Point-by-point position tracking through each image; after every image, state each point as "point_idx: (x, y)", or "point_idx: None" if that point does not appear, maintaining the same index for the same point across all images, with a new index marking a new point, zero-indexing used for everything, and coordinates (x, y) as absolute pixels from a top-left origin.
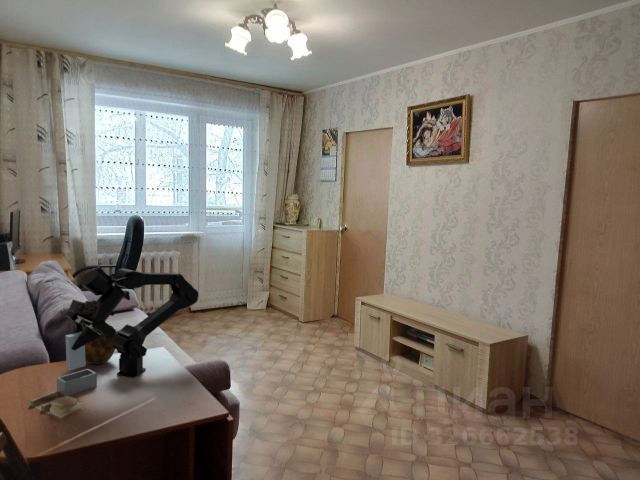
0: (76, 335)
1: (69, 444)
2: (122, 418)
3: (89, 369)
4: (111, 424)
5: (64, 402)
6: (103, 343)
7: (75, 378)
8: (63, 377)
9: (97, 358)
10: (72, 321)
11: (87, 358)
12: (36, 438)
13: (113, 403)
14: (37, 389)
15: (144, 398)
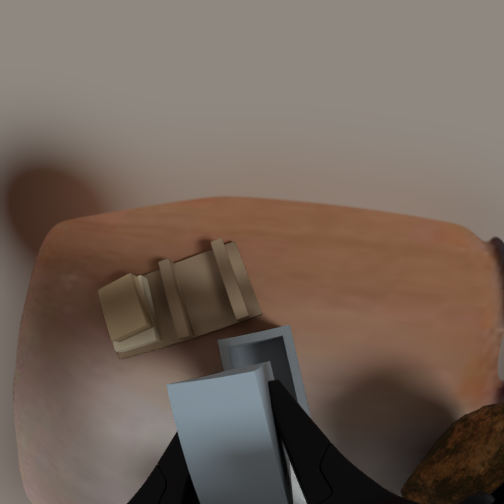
0: (188, 466)
1: (38, 281)
2: (55, 398)
3: None
4: (47, 369)
5: (112, 304)
6: None
7: (295, 393)
8: (286, 350)
9: (409, 478)
10: (472, 501)
11: (434, 446)
12: (83, 238)
13: (121, 428)
14: (348, 283)
15: (112, 485)
